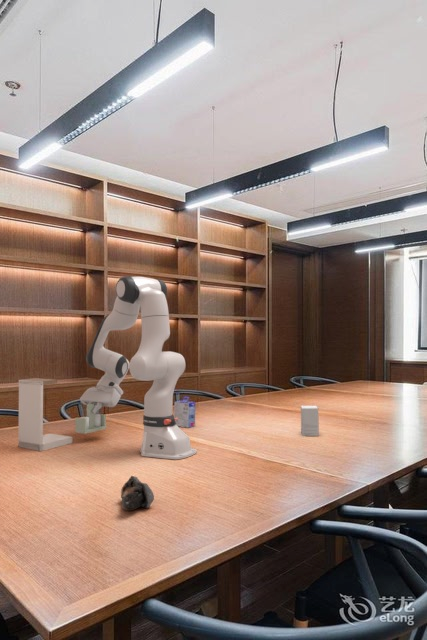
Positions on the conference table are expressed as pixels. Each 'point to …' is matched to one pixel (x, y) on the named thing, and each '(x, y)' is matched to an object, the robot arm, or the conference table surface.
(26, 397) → the white c-shaped upright piece
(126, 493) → the bison figurine
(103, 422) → the glass caddy
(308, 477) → the conference table surface
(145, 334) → the robot arm
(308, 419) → the supplement box
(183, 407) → the ink cartridge box
